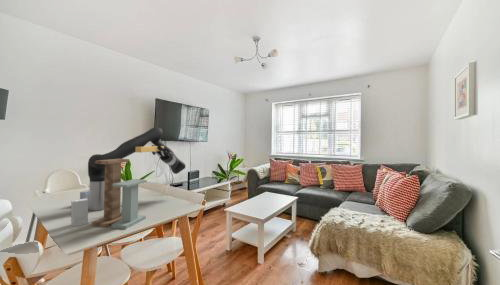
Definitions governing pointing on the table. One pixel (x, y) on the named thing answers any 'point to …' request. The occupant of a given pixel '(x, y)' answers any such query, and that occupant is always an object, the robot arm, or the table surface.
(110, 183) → the walnut stand
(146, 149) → the ochre bar
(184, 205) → the table surface
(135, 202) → the slate pedestal
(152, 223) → the table surface
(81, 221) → the skincare box
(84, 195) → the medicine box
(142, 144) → the robot arm
